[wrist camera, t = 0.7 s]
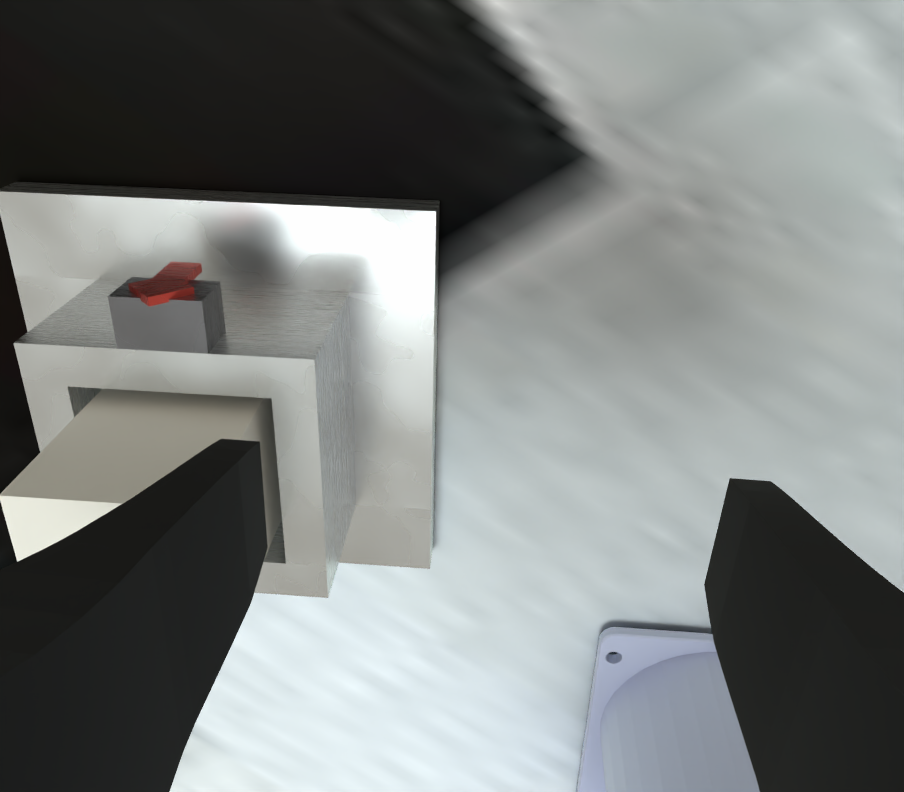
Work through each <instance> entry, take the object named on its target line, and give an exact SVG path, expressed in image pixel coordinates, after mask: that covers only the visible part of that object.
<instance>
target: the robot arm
mask: <svg viewBox="0 0 904 792" xmlns="http://www.w3.org/2000/svg"><path fill="white" fill-rule="evenodd" d="M267 548H268V545H267V531H266V518H265V504H264V491H263V477H262V464H261V450H260V442H259V441H246V440H233V439H220V440H218V441H216V442H215V443H213V444H211V445H210V446H208V447H207V448H205V449H204V450H202V451H201V452H199V453H198V454H196V455H195V456H193V457H192V458H190V459H189V460H187V461H186V462H185V463H183V464H182V465H180V466H179V467H177V468H176V469H174V470H173V471H171V472H170V473H168V474H167V475H165V476H164V477H162V478H161V479H159V480H158V481H156V482H155V483H153V484H152V485H150V486H149V487H147V488H146V489H144V490H143V491H141V492H140V493H138V494H137V495H135V496H134V497H132V498H131V499H129V500H128V501H126V502H124V503H123V504H121V505H119V506H118V507H116V508H115V509H113V510H111V511H110V512H108V513H106V514H105V515H103V516H101V517H100V518H98V519H96V520H95V521H93V522H91V523H90V524H88V525H86V526H85V527H83V528H81V529H80V530H78V531H76V532H74V533H73V534H71V535H69V536H67V537H65V538H64V539H62V540H60V541H58V542H56V543H54V544H52V545H50V546H48V547H47V548H45V549H43V550H41V551H38V552H36V553H34V554H32V555H30V556H28V557H26V558H24V559H22V560H20V561H18V562H16V563H14V564H12V565H10V566H7V567H5V568H3V569H1V570H0V792H169V791H170V788H171V785H172V782H173V780H174V777H175V774H176V771H177V768H178V765H179V762H180V759H181V756H182V753H183V751H184V748H185V746H186V744H187V741H188V739H189V736H190V734H191V732H192V729H193V727H194V724H195V722H196V720H197V718H198V716H199V714H200V711H201V709H202V707H203V705H204V703H205V701H206V699H207V696H208V694H209V692H210V690H211V688H212V686H213V684H214V682H215V679H216V677H217V675H218V673H219V671H220V669H221V667H222V664H223V662H224V660H225V658H226V656H227V654H228V652H229V650H230V647H231V645H232V643H233V641H234V639H235V637H236V634H237V632H238V630H239V628H240V626H241V624H242V621H243V619H244V617H245V615H246V612H247V610H248V608H249V606H250V604H251V601H252V598H253V594H254V591H255V588H256V585H257V582H258V579H259V576H260V572H261V569H262V565H263V562H264V559H265V555H266V552H267ZM704 585H705V592H706V598H707V605H708V611H709V618H710V623H711V629H712V634H708V633H694V632H680V631H666V630H652V629H638V628H624V627H610V628H608V629H605V630H604V631H603V632H602V633H601V634H600V636H599V641H598V648H597V655H596V661H595V668H594V675H593V682H592V689H591V695H590V702H589V709H588V716H587V723H586V729H585V736H584V743H583V750H582V757H581V763H580V770H579V777H578V784H577V791H576V792H904V593H903V592H902V591H901V590H899V589H898V588H897V587H895V586H894V585H893V584H891V583H890V582H889V581H888V580H886V579H885V578H884V577H883V576H881V575H880V574H879V573H878V572H877V571H875V570H874V569H873V568H872V567H870V566H869V565H868V564H867V563H866V562H864V561H863V560H862V559H861V558H860V557H858V556H857V555H856V554H855V553H854V552H852V551H851V550H850V549H849V548H848V547H847V546H845V545H844V544H843V543H842V542H841V541H840V540H839V539H837V538H836V537H835V536H834V535H833V534H832V533H830V532H829V531H828V530H827V529H826V528H825V527H824V526H823V525H821V524H820V523H819V522H818V521H817V520H816V519H815V518H813V517H812V516H811V515H810V514H809V513H808V512H807V511H806V510H804V509H803V508H802V507H801V506H800V505H799V504H798V503H796V502H795V501H794V500H793V499H792V498H791V497H790V496H788V495H787V494H786V493H785V492H784V491H782V490H781V489H780V488H779V487H777V486H776V485H775V484H774V483H772V482H771V481H758V480H745V479H732V478H730V480H729V484H728V488H727V492H726V496H725V501H724V505H723V509H722V513H721V517H720V521H719V526H718V530H717V534H716V538H715V542H714V546H713V551H712V555H711V559H710V563H709V567H708V571H707V576H706V580H705V584H704ZM610 652H618V653H617V654H614V655H611V654H608V653H610Z"/></svg>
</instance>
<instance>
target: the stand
mask: <svg viewBox="0 0 904 792" xmlns="http://www.w3.org/2000/svg"><path fill="white" fill-rule="evenodd" d="M439 203H440V201H435V200H413V199H391V198H368V197H346V196H324V195H302V194H279V193H257V192H235V191H213V190H191V189H168V188H146V187H124V186H102V185H80V184H57V183H35V182H15V183H12V184H10V185H8V186H6V187H3V188H1V189H0V215H1V219H2V224H3V228H4V232H5V236H6V241H7V245H8V249H9V253H10V258H11V262H12V266H13V271H14V275H15V279H16V283H17V288H18V292H19V296H20V300H21V305H22V309H23V313H24V318H25V322H26V326H27V330H28V332H27V333H26V334H25V335H23V336H22V337H21V338H20V339H18V340H17V341H16V342H14V347H15V351H16V355H17V359H18V363H19V367H20V371H21V375H22V379H23V383H24V387H25V392H26V396H27V400H28V404H29V408H30V412H31V416H32V420H33V424H34V428H35V432H36V437H37V441H38V445H39V449H40V453H41V452H42V450H43V449H44V448H45V447H46V446H47V445H48V444H49V443H50V442H51V441H52V440H53V439H54V438H55V437H56V436H57V435H58V434H59V433H60V432H61V431H62V430H63V429H64V428H65V427H66V426H67V425H68V424H69V423H70V422H71V421H72V420H73V419H74V417H75V416H76V415H77V414H78V413H79V412H80V411H81V410H82V409H83V408H84V407H85V406H86V405H87V404H88V403H89V402H90V401H91V400H92V399H93V398H94V397H95V396H96V395H97V394H98V393H99V392H100V391H101V390H102V389H119V390H136V391H153V392H170V393H187V394H205V395H222V396H239V397H256V398H272V409H273V420H274V432H275V443H276V455H277V466H278V478H279V489H280V501H281V512H282V519H281V522H280V524H279V526H278V529H277V531H276V533H275V536H274V538H273V540H272V543H271V545H270V547H269V550H268V552H267V555H266V557H265V559H264V562H263V565H262V569H261V572H260V576H259V579H258V582H257V585H256V588H255V591H254V593H267V594H281V595H296V596H310V597H324V598H328V596H329V593H330V590H331V586H332V583H333V580H334V576H335V573H336V570H337V566H338V563H339V562H340V563H355V564H369V565H384V566H399V567H413V568H428V569H430V564H431V558H432V551H433V518H434V465H435V413H436V360H437V308H438V255H439Z"/></svg>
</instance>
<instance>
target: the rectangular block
mask: <svg viewBox="0 0 904 792" xmlns="http://www.w3.org/2000/svg"><path fill="white" fill-rule="evenodd" d="M220 439H233V440H246V441H259V442H260V450H261V464H262V477H263V491H264V504H265V518H266V531H267V545H268V548H267V552H268V550H269V547H270V545H271V543H272V540H273V538H274V536H275V533H276V531H277V529H278V526H279V524H280V522H281V519H282V512H281V501H280V489H279V478H278V466H277V455H276V443H275V432H274V420H273V409H272V398H256V397H239V396H222V395H205V394H187V393H170V392H153V391H136V390H119V389H102V390H101V391H100V392H99V393H98V394H97V395H96V396H95V397H94V398H93V399H92V400H91V401H90V402H89V403H88V404H87V405H86V406H85V407H84V408H83V409H82V410H81V411H80V412H79V413H78V414H77V415H76V416H75V417H74V419H73V420H72V421H71V422H70V423H69V424H68V425H67V426H66V427H65V428H64V429H63V430H62V431H61V432H60V433H59V434H58V435H57V436H56V437H55V438H54V439H53V440H52V441H51V442H50V443H49V444H48V445H47V446H46V447H45V448H44V449H43V450H42V452H41V453H40V454H39V455H38V456H37V457H36V458H35V459H34V460H33V461H32V462H31V463H30V464H29V465H28V466H27V467H26V468H25V469H24V470H23V471H22V472H21V473H20V474H19V475H18V476H17V477H16V478H15V479H14V480H13V481H12V482H11V484H10V485H9V486H8V487H7V488H6V489H5V490H4V491H3V492H2V493H1V494H0V501H1V505H2V508H3V512H4V516H5V519H6V523H7V526H8V530H9V533H10V537H11V541H12V544H13V548H14V551H15V555H16V558H17V562H18V561H20V560H22V559H24V558H26V557H28V556H30V555H32V554H34V553H36V552H38V551H41V550H43V549H45V548H47V547H48V546H50V545H52V544H54V543H56V542H58V541H60V540H62V539H64V538H65V537H67V536H69V535H71V534H73V533H74V532H76V531H78V530H80V529H81V528H83V527H85V526H86V525H88V524H90V523H91V522H93V521H95V520H96V519H98V518H100V517H101V516H103V515H105V514H106V513H108V512H110V511H111V510H113V509H115V508H116V507H118V506H119V505H121V504H123V503H124V502H126V501H128V500H129V499H131V498H132V497H134V496H135V495H137V494H138V493H140V492H141V491H143V490H144V489H146V488H147V487H149V486H150V485H152V484H153V483H155V482H156V481H158V480H159V479H161V478H162V477H164V476H165V475H167V474H168V473H170V472H171V471H173V470H174V469H176V468H177V467H179V466H180V465H182V464H183V463H185V462H186V461H187V460H189V459H190V458H192V457H193V456H195V455H196V454H198V453H199V452H201V451H202V450H204V449H205V448H207V447H208V446H210V445H211V444H213V443H215V442H216V441H218V440H220ZM267 552H266V555H267ZM266 555H265V557H266Z"/></svg>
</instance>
